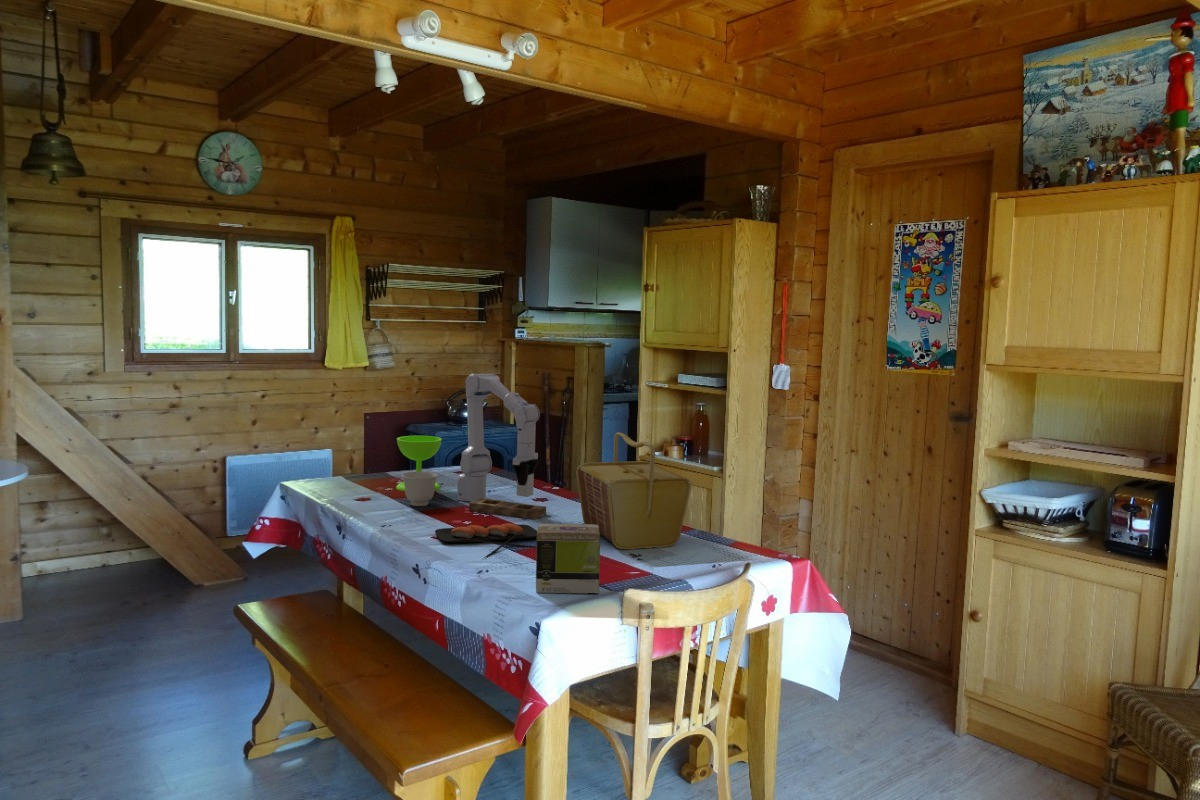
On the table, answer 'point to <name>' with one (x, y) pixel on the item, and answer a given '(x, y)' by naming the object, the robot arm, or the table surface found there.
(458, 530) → the sushi plate
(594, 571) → the tea box
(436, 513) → the table surface
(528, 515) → the wooden compartment tray
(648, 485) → the picnic basket
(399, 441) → the wineglass
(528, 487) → the beige rectangular block
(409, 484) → the teacup
